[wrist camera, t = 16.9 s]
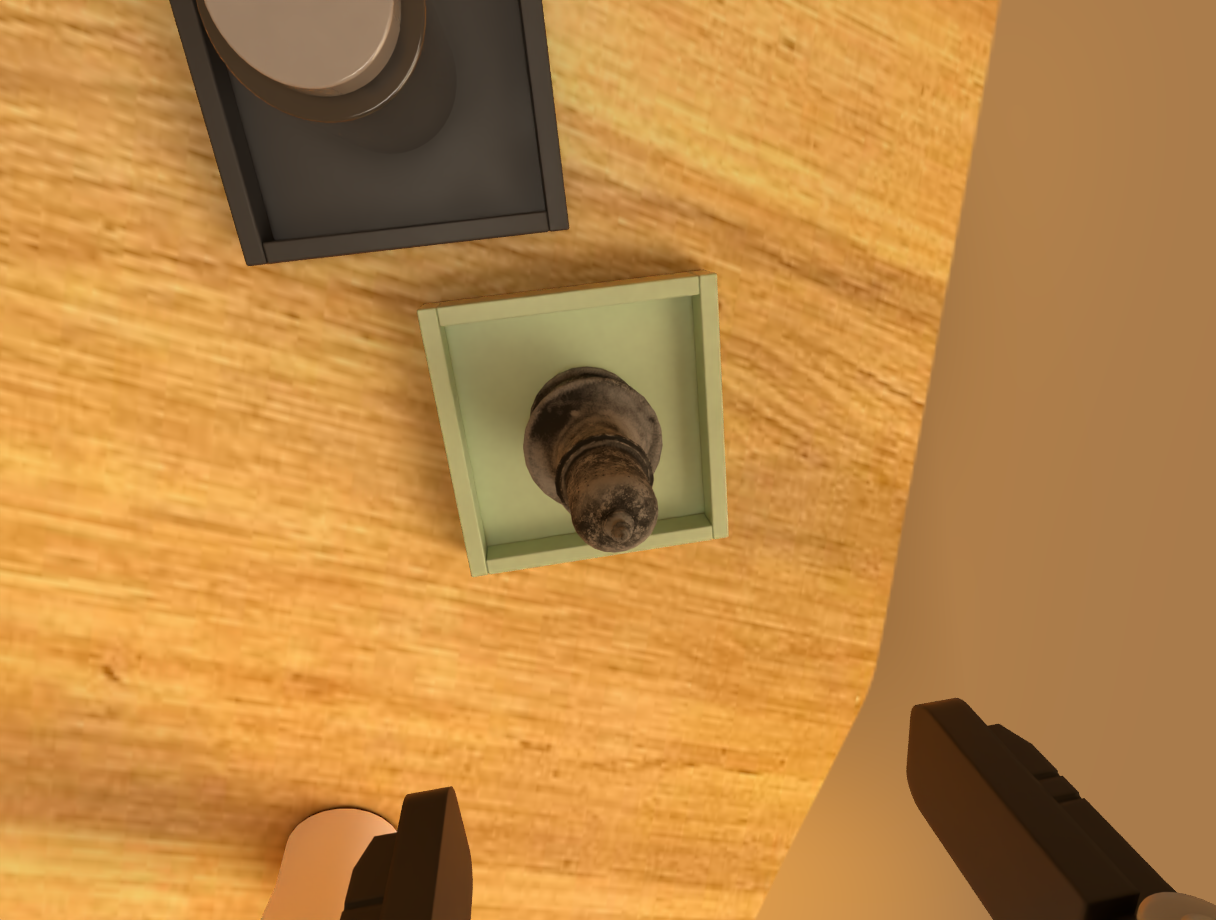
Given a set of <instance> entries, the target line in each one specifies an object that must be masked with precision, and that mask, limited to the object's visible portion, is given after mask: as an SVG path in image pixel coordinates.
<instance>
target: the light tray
mask: <svg viewBox="0 0 1216 920" xmlns="http://www.w3.org/2000/svg"><path fill="white" fill-rule="evenodd" d="M417 316H418V321H419V325H420V330H421V335H422V340H423V345H424V350H425V354H426V359H427V364H428V369H429V374H430V379H431V383H432V388H433V393H434V398H435V403H436V407H437V412H438V417H439V422H440V427H441V432H442V436H443V441H444V446H445V451H446V456H447V461H448V465H449V470H450V475H451V480H452V485H453V489H454V494H455V499H456V504H457V509H458V514H459V518H460V523H461V528H462V533H463V538H464V543H465V547H466V552H467V557H468V562H469V567H470V571H471V576H472V577H477V576H483V575H487V574H488V573H489V574H496V573H502V572H508V571H515V570H521V569H528V568H534V567H540V566H547V565H553V564H560V563H566V562H572V561H579V560H585V559H591V558H598V557H604V556H611V555H617V554H623V553H630V552H636V551H643V550H649V549H655V548H662V547H668V546H675V545H681V544H687V543H694V542H700V541H707V540H712V539H719V538H725V537H728V536H729V534H728V511H727V489H726V466H725V444H724V421H723V399H722V376H721V354H720V332H719V309H718V287H717V274H716V273H712V272H709V271H706V270H698V271H689V272H681V273H673V274H665V275H657V276H649V277H640V278H632V279H624V280H616V281H608V282H599V283H591V284H583V285H575V286H567V287H558V288H550V289H542V290H534V291H526V292H518V293H509V294H501V295H493V296H485V297H477V298H468V299H460V300H452V301H444V302H436V303H428V304H423V305H422V306H421V307H420V308H419V309H418V310H417ZM586 366H588V367H596V368H602V369H605V370H607V371H609V372H612V373H614V374H616V375H617V376H619V377H620V378H621V379H622V380H624V381H625V382H626V383H627V384H628V385H629V386H631V387H632V388H633V389H635V390H636V391H637V392H638V393H640V394H641V395H642V396H644V397H645V399H646V400H647V401H648V403H649V404H650V405H651V407H652V408H653V409H654V411H655V412H656V415H657V418H658V421H659V423H660V426H661V430H662V443H663V446H662V452H661V457H660V462H659V464H658V466H657V468H656V470H655V472H654V474H653V475H654V482H653V487H652V489H653V491H654V493H655V496H656V498H657V501H658V518H657V523H656V525H655V527H654V529H653V531H652V533H651V534H650V535H649V537H648V538H647V539H646V540H645V541H644V542H642V543H641V544H640V545H638V546H637V547H635V548H632V549H630V550H627V551H623V552H616V553H613V552H603V551H600V550H597V549H594V548H593V547H591V546H589V545H588V544H586V543H585V542H584V541H583V539H582V538H581V537H580V536H579V535H578V534H577V532H576V530H575V528H574V526H573V524H572V519H571V514H570V513H569V512H568V511H567V510H566V509H565V508H564V506H563V505H562V504H560V503H558V502H556V501H555V500H553V499H552V498H550V497H549V496H547V495H546V494H544V493H543V491H542V490H541V489H540V488H539V487H538V486H537V484H536V483H535V482H534V481H533V479H532V477H531V475H530V473H529V471H528V469H527V466H526V463H525V457H524V451H523V442H524V434H525V428H526V426H527V423H528V421H529V419H530V412H531V407H532V405H533V402H534V400H535V397H536V395H537V394H538V392H539V391H540V390H541V388H542V387H543V386H544V385H545V383H546V382H548V381H549V380H550V379H552V378H553V377H554V376H556V375H557V374H559V373H561V372H564V371H566V370H569V369H571V368H578V367H586Z"/></svg>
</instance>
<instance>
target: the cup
mask: <svg viewBox="0 0 1216 920" xmlns="http://www.w3.org/2000/svg"><path fill="white" fill-rule="evenodd" d="M395 832H397V831H396V830H395V829H394V827H393V826H392V825H391V824H390V823H388V822H387V821H386V820H384V819H383V818H382V817H379V816H377V815H375V814H372V813H370V812H367V811H362V810H357V809H334V810H329V811H323V812H321V813H318V814H316V815H313V816H311V817H309V818H307V819H306V820H304V821H303V822H302V823H300V824H299V825H298V826H297V827H296V828H295V829H294V831H293V832H292V833H291V834H290V836H289V839H288V842H287V844H286V848H285V852H284V855H283V859H282V863H281V867H280V871H279V875H278V879H277V883H276V886H275V888H274V891H273V893H272V895H271V897H270V900H269V902H268V904H267V907H266V909H265V911H264V913H263V916H262V918H261V920H340V917H341V913H342V911H344V902H345V898H346V894H347V890H348V886H349V883H350V879H351V875H352V871H353V868H354V867H355V865H356V864H357V862H358V860H359V859H360V857H361V856H362V854H363V853H364V851H365V850H366V848H367V847H368V845H369V843H370V842H371V840H372V839H373V837H374V836H379V835H384V834H390V833H395Z"/></svg>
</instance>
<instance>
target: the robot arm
mask: <svg viewBox="0 0 1216 920" xmlns="http://www.w3.org/2000/svg"><path fill="white" fill-rule="evenodd" d="M907 780H908V784H909V788H910V791H911V794H912V796H913V799H914V801H915V803H916V805H917V807H918V808H919V810H920V812H921V813H922V815H923V816H924V818H925V819H926V821H927V822H928V824H929V825H930V827H931V828H932V829H933V831H934V832H935V834H936V835H937V837H938V838H939V840H940V841H941V843H942V844H943V846H944V847H945V849H946V850H947V852H948V853H949V855H950V856H951V858H952V859H953V861H954V862H955V864H956V865H957V867H958V868H959V870H960V871H961V873H962V874H963V875H964V877H965V878H966V880H967V881H968V883H969V884H970V886H971V887H972V889H973V890H974V892H975V893H976V895H977V896H978V898H979V899H980V901H981V902H982V904H983V905H984V907H985V908H986V910H987V911H988V913H989V914H990V916H991V917H992V919H993V920H1216V905H1214V904H1212V903H1210V902H1207V901H1205V900H1202V899H1199V898H1197V897H1194V896H1190V895H1186V894H1182V893H1177V892H1176V891H1175V890H1174V889H1173V888H1172V887H1171V886H1170V885H1169V884H1167V883H1166V882H1165V881H1164V880H1163V879H1162V878H1161V876H1159V874H1158V873H1157V872H1156V871H1155V870H1154V869H1153V868H1152V867H1151V866H1150V865H1149V864H1148V863H1147V862H1146V861H1145V860H1144V859H1143V858H1142V857H1141V856H1140V855H1139V854H1138V853H1137V852H1136V851H1135V850H1134V849H1133V848H1132V847H1131V846H1130V845H1129V844H1128V843H1127V842H1126V841H1125V839H1124V838H1123V837H1122V836H1121V835H1120V834H1119V833H1118V832H1117V831H1116V830H1115V829H1114V828H1113V827H1112V826H1111V825H1110V824H1109V823H1108V822H1107V821H1106V820H1105V819H1104V818H1103V817H1102V816H1101V815H1100V814H1099V813H1098V812H1097V811H1096V810H1095V809H1094V808H1093V807H1092V806H1091V805H1090V803H1089V802H1088V801H1087V800H1086V799H1085V798H1083V799H1082V798H1081V797H1080V796H1079V792H1078V791H1077V790H1076V789H1075V788H1074V787H1073V786H1072V785H1071V784H1070V783H1069V782H1068V781H1067V780H1066V779H1065V778H1064V777H1063V776H1059V774H1058V771H1057V770H1056V768H1055V767H1054V766H1053V765H1052V764H1051V763H1050V762H1049V761H1048V760H1047V759H1046V758H1045V757H1044V756H1043V755H1042V754H1041V753H1040V752H1039V751H1038V750H1037V749H1036V748H1035V747H1034V746H1033V745H1032V744H1031V743H1029V742H1028V741H1026V740H1024V739H1023V738H1021V737H1019V736H1018V735H1016V734H1014V733H1013V732H1011V731H1010V730H1008V729H1006V728H1005V727H1003V726H1002V725H1000V724H995V725H990V726H987V725H986V724H985V723H984V722H983V721H982V720H981V718H980V717H979V716H978V715H977V714H976V713H975V712H974V711H973V710H972V709H971V708H970V706H969V705H968V704H967V703H966V702H964V701H963V700H961V699H959V698H953V699H947V700H941V701H935V702H930V703H924V704H919V705H915V706H914V707H913V708H912V711H911V717H910V730H909V744H908V755H907ZM472 890H473V878H472V863H471V855H470V850H469V845H468V841H467V837H466V833H465V829H464V825H463V821H462V817H461V813H460V810H459V806H458V802H457V798H456V794H455V791H454V789H453V787H452V786H451V787H445V788H440V789H434V790H429V791H423V792H418V793H412V794H407V795H406V797H405V799H404V801H403V805H402V810H401V815H400V820H399V825H398V830H397V832H395V833H390V834H384V835H379V836H374V837H373V839H372V840H371V842H370V843H369V845H368V847H367V848H366V850H365V851H364V853H363V854H362V856H361V857H360V859H359V860H358V862H357V864H356V865H355V867H354V868H353V871H352V875H351V879H350V883H349V886H348V890H347V894H346V898H345V902H344V911H342V913H341V917H340V920H470V919H471V906H472Z"/></svg>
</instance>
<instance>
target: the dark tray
mask: <svg viewBox="0 0 1216 920" xmlns="http://www.w3.org/2000/svg"><path fill="white" fill-rule="evenodd" d="M169 1H170V4H171V8H172V11H173V15H174V18H175V22H176V25H177V28H178V32H179V35H180V39H181V42H182V46H183V49H184V52H185V56H186V59H187V63H188V66H189V70H190V73H191V76H192V80H193V83H194V87H195V90H196V94H197V97H198V100H199V104H200V107H201V111H202V114H203V118H204V121H205V124H206V128H207V131H208V135H209V138H210V142H211V145H212V148H213V152H214V155H215V159H216V162H217V166H218V169H219V172H220V176H221V179H222V183H223V186H224V190H225V193H226V196H227V200H228V203H229V207H230V210H231V214H232V217H233V220H234V224H235V227H236V231H237V234H238V238H239V241H240V244H241V248H242V251H243V255H244V258H245V262H246V264H247V266H254V265H263V264H272V263H281V262H289V261H298V260H307V259H315V258H324V257H333V256H341V255H350V254H359V253H367V252H376V251H385V250H393V249H402V248H411V247H420V246H428V245H437V244H446V243H454V242H463V241H472V240H480V239H489V238H498V237H506V236H515V235H524V234H533V233H541V232H548V231H559V230H567V229H569V223H568V214H567V206H566V198H565V189H564V181H563V173H562V164H561V156H560V148H559V139H558V131H557V122H556V114H555V106H554V97H553V89H552V81H551V72H550V64H549V56H548V47H547V39H546V31H545V22H544V14H543V6H542V0H432V2H433V5H434V7H435V10H436V12H437V15H438V17H439V20H440V22H441V25H442V27H443V30H444V32H445V35H446V37H447V40H448V42H449V45H450V47H451V50H452V53H453V57H454V61H455V66H456V75H457V88H456V96H455V101H454V104H453V108H452V111H451V113H450V115H449V118H448V119H447V121H446V123H445V125H444V126H443V127H442V129H441V130H440V131H439V133H438V134H437V135H436V136H435V137H433V138H432V139H431V140H430V141H429V142H427V143H426V144H424V145H423V146H421V147H419V148H417V149H414V150H411V151H408V152H404V153H398V154H384V153H377V152H373V151H369V150H366V149H364V148H361V147H358V146H356V145H354V144H352V143H350V142H348V141H345V140H343V139H341V138H339V137H337V136H334V135H332V134H330V133H328V132H326V131H323V130H321V129H319V128H317V127H315V126H312V125H310V124H308V123H306V122H304V121H301V120H299V119H297V118H295V117H293V116H290V115H288V114H286V113H284V112H282V111H280V110H278V109H276V108H274V107H272V106H271V105H269V104H267V103H266V102H264V101H263V100H262V99H260V98H259V97H257V96H256V95H255V94H253V93H252V92H251V91H250V90H249V89H248V88H246V87H245V86H244V85H243V84H242V83H241V82H240V81H239V80H238V79H237V78H236V76H235V75H234V74H233V73H232V72H231V71H230V70H229V68H228V67H227V66H226V64H225V63H224V62H223V60H222V59H221V58H220V56H219V54H218V53H217V51H216V49H215V48H214V46H213V44H212V43H211V40H210V38H209V36H208V34H207V32H206V30H205V27H204V25H203V22H202V19H201V16H200V13H199V10H198V6H197V1H196V0H169Z"/></svg>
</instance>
